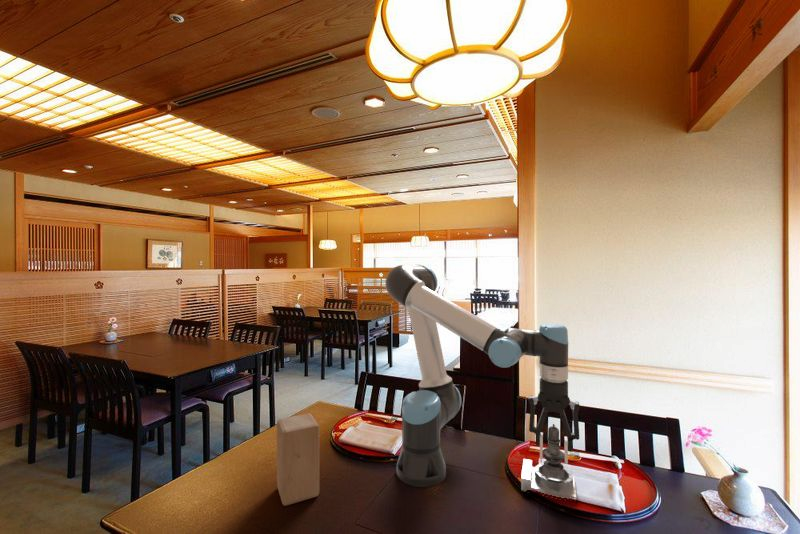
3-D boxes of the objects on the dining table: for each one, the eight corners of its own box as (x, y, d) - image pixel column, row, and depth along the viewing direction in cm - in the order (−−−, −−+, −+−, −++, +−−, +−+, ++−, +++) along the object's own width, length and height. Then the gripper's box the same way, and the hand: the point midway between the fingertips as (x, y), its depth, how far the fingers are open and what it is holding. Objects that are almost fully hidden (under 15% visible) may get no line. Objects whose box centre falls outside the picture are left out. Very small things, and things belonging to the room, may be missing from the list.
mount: (521, 490, 101) (521, 476, 101) (523, 469, 112) (523, 456, 112) (576, 502, 96) (576, 487, 96) (573, 480, 106) (573, 466, 106)
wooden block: (282, 508, 94) (282, 432, 94) (276, 487, 103) (276, 418, 103) (320, 497, 99) (320, 424, 99) (311, 477, 108) (311, 411, 107)
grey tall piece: (567, 472, 100) (567, 429, 100) (544, 470, 101) (544, 427, 101) (562, 461, 106) (562, 420, 105) (540, 458, 107) (540, 418, 107)
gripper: (518, 378, 103) (518, 458, 103) (592, 387, 96) (592, 473, 96) (520, 371, 110) (520, 446, 110) (589, 378, 103) (589, 459, 103)
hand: (553, 458), depth 103 cm, fingers closed on grey tall piece, 6 cm apart
